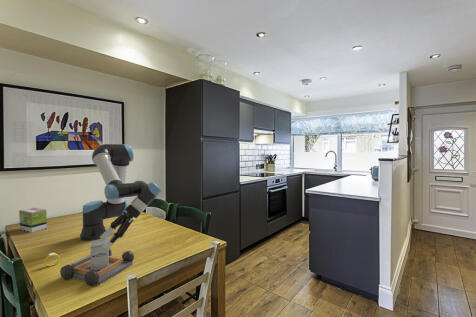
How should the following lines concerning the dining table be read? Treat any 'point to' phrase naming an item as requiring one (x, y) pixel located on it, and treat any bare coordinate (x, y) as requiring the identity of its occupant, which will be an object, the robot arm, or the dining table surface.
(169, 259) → the dining table surface
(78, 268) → the toy car chassis
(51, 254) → the watch
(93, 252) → the supplement box
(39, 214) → the tea box
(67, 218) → the dining table surface
